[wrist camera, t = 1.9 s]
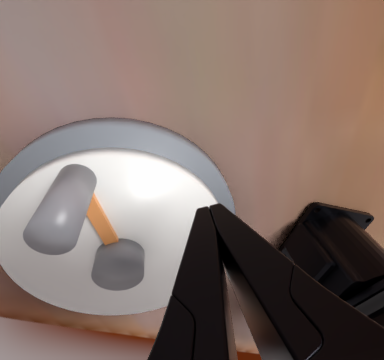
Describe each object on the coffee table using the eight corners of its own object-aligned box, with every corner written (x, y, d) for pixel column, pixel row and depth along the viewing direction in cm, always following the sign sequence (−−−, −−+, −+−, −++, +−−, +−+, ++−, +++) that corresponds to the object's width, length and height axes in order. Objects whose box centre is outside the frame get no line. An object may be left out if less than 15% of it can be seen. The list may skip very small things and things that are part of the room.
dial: (232, 276, 21) (254, 344, 16) (71, 316, 20) (49, 395, 16) (205, 119, 13) (233, 170, 8) (-57, 184, 13) (-165, 268, 8)
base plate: (266, 153, 17) (291, 181, 14) (192, 293, 24) (197, 330, 21) (-11, 80, 12) (-63, 98, 9) (6, 281, 20) (-20, 326, 17)
